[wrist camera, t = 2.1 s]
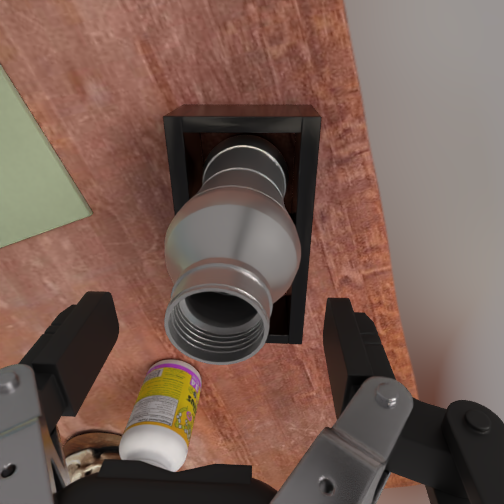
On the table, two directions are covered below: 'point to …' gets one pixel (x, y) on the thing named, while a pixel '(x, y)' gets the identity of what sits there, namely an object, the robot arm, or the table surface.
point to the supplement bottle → (163, 416)
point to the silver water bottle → (231, 253)
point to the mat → (31, 175)
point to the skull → (90, 453)
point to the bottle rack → (303, 183)
